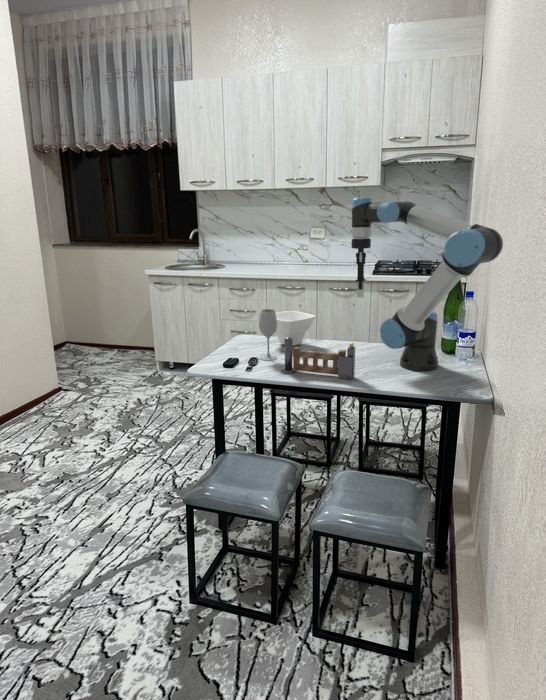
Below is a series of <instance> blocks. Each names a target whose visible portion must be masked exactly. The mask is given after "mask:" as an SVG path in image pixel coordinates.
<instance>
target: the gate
mask: <svg viewBox="0 0 546 700" xmlns="http://www.w3.org/2000/svg"><path fill="white" fill-rule="evenodd" d="M338 356H347V350H346V349H339V350H338V353H337V352H336V353H335V352H324V351H316V350H315V351H314V350H304V349H301V347H299V346H294V347H292V368H293V370H296V372H306V373H307V372H309V373H318V374H327V375H337V376H338ZM301 358H302V363H301V361H300V360H301ZM309 359H312V364H309ZM319 360H322V365H319ZM329 361H332V366H329Z"/></svg>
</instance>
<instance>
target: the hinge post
mask: <svg viewBox="0 0 546 700" xmlns="http://www.w3.org/2000/svg"><path fill="white" fill-rule="evenodd" d="M284 343H285V345H284V367H283V368H281V369H280V371H281V373H282V374H290V375H292V374H295V373H297V371H296V370H293V346H292V343H293V340H292V338H290V337H287V338H285V340H284Z"/></svg>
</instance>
